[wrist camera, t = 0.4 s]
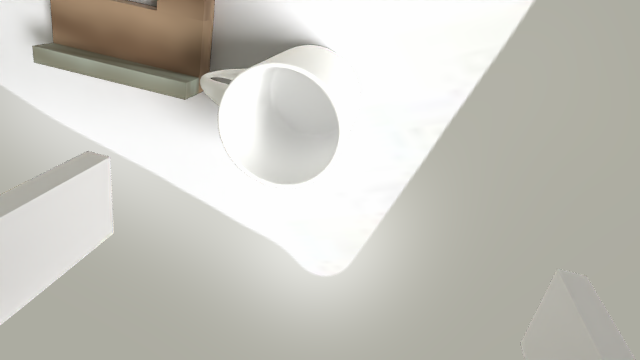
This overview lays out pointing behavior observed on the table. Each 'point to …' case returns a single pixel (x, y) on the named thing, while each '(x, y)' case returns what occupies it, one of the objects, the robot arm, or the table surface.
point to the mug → (286, 114)
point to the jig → (133, 42)
